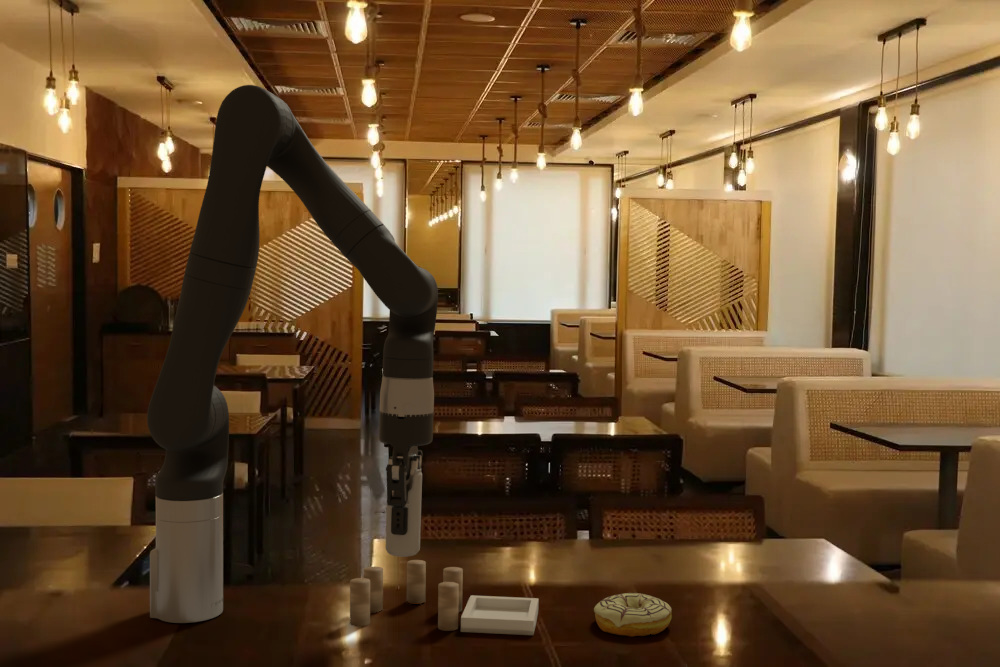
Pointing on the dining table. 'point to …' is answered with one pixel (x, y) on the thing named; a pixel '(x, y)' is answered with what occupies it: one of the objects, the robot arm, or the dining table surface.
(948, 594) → the dining table surface
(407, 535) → the beverage can
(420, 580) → the posts
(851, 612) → the dining table surface
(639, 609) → the decorated donut
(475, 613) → the parts tray
